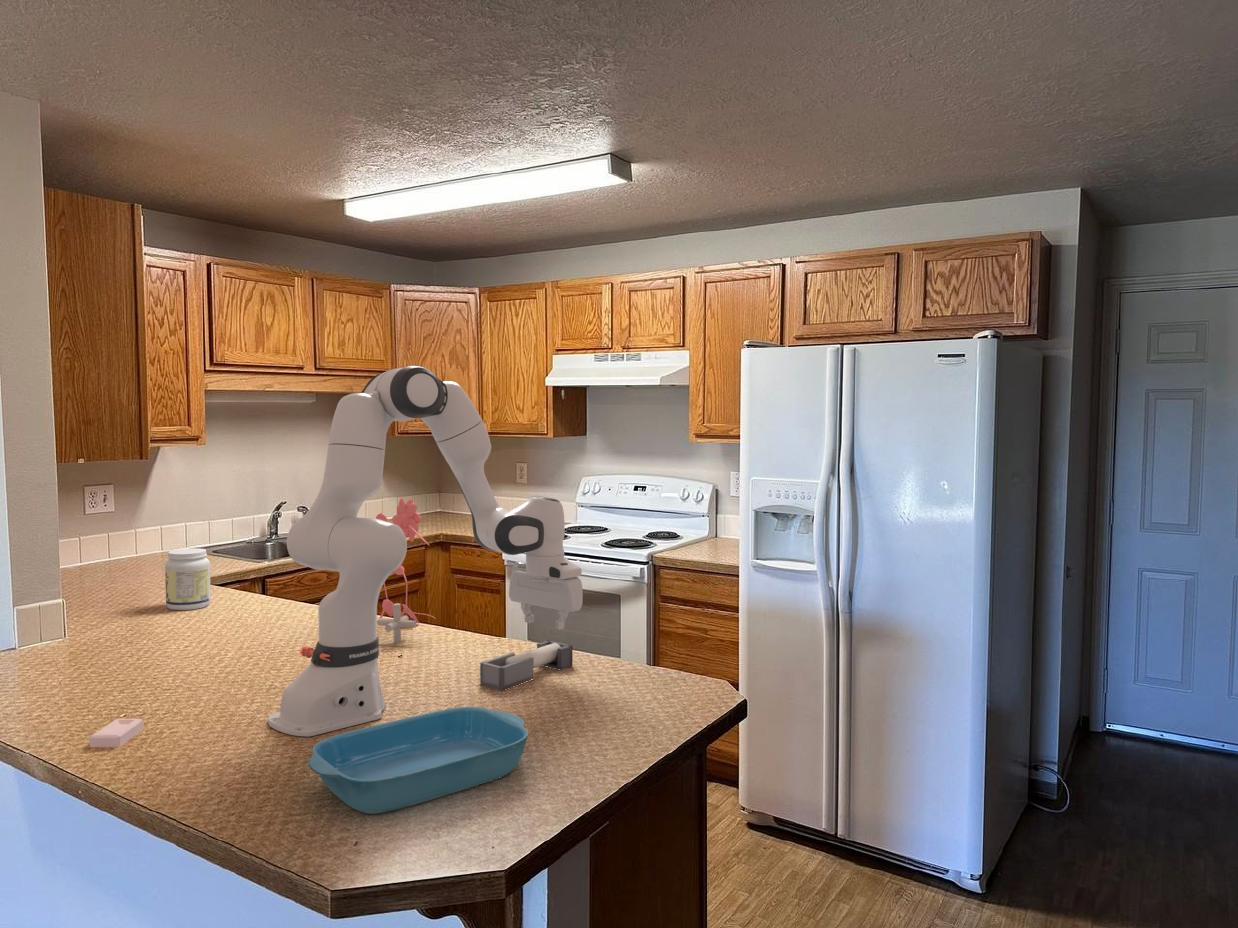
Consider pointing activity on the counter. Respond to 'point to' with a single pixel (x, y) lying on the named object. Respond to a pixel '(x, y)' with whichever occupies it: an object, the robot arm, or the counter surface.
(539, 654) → the slip tube
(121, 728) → the soap bar
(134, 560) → the counter surface
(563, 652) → the socket
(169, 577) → the supplement tub
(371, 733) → the casserole dish
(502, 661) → the sleeve
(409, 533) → the figurine
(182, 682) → the counter surface
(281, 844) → the counter surface
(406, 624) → the pipe connector
